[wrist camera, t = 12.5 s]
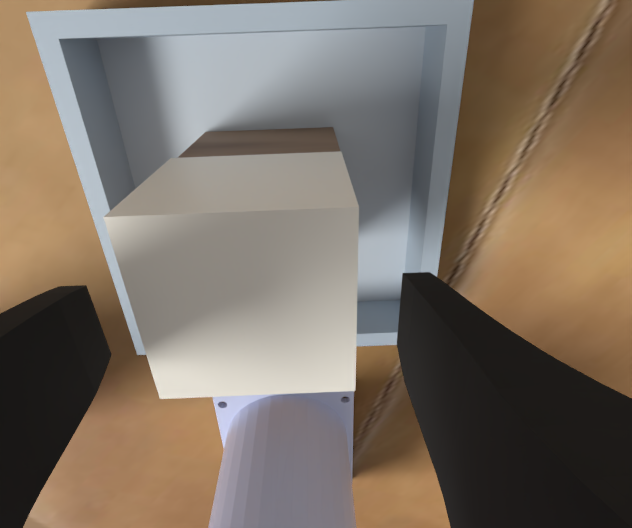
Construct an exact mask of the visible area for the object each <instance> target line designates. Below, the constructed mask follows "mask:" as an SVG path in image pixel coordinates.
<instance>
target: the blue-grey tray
mask: <svg viewBox="0 0 632 528" xmlns="http://www.w3.org/2000/svg"><path fill="white" fill-rule="evenodd" d="M473 3H474V0H338V1H311V2H284V3H256V4H229V5H202V6H175V7H147V8H120V9H93V10H66V11H38V12H26V14H27V17H28V20H29V23H30V26H31V29H32V32H33V35H34V38H35V41H36V45H37V48H38V51H39V54H40V57H41V60H42V63H43V66H44V69H45V72H46V75H47V78H48V81H49V85H50V88H51V91H52V94H53V97H54V100H55V103H56V106H57V109H58V112H59V115H60V118H61V121H62V125H63V128H64V131H65V134H66V137H67V140H68V143H69V146H70V149H71V152H72V155H73V158H74V162H75V165H76V168H77V171H78V174H79V177H80V180H81V183H82V186H83V189H84V192H85V195H86V198H87V202H88V205H89V208H90V211H91V214H92V217H93V220H94V223H95V226H96V229H97V232H98V235H99V239H100V242H101V245H102V248H103V251H104V254H105V257H106V260H107V263H108V266H109V269H110V272H111V275H112V279H113V282H114V285H115V288H116V291H117V294H118V297H119V300H120V303H121V306H122V309H123V312H124V316H125V319H126V322H127V325H128V328H129V331H130V334H131V337H132V340H133V343H134V346H135V349H136V352H137V355H146V352H145V349H144V346H143V343H142V340H141V336H140V333H139V330H138V327H137V324H136V320H135V317H134V314H133V311H132V308H131V304H130V301H129V298H128V295H127V292H126V288H125V285H124V282H123V279H122V276H121V272H120V269H119V266H118V263H117V260H116V256H115V253H114V250H113V247H112V243H111V240H110V237H109V234H108V231H107V227H106V224H105V221H104V218H103V217H104V216H105V215H106V214H107V213H109V212H110V211H111V210H112V209H113V208H114V207H115V206H117V205H118V204H119V203H120V202H121V201H122V200H123V199H125V198H126V197H127V196H128V195H129V194H130V193H131V192H132V191H134V190H135V189H136V188H137V187H138V186H139V185H140V184H142V183H143V182H144V181H145V180H146V179H147V178H148V177H150V176H151V175H152V174H153V173H154V172H155V171H156V170H158V169H159V168H160V167H161V166H162V165H163V164H164V163H166V162H167V161H168V160H169V159H170V158H178V157H179V156H180V155H181V154H182V153H183V152H184V151H185V150H186V149H187V148H189V147H190V146H191V145H192V144H193V143H194V142H195V141H196V140H197V139H198V138H199V137H201V136H202V135H203V134H204V133H205V132H215V131H242V130H268V129H294V128H321V127H333V129H334V132H335V135H336V138H337V141H338V145H339V148H340V151H341V152H342V155H343V158H344V161H345V164H346V168H347V171H348V174H349V177H350V180H351V183H352V186H353V190H354V193H355V196H356V199H357V202H358V205H359V234H358V285H357V336H356V346H378V345H397V335H398V323H399V310H400V298H401V286H402V274H403V273H418V272H430V273H432V274H433V275H435V276H436V277H437V274H438V267H439V259H440V252H441V244H442V237H443V229H444V222H445V214H446V207H447V199H448V191H449V184H450V176H451V169H452V161H453V154H454V146H455V139H456V131H457V124H458V116H459V109H460V101H461V94H462V86H463V78H464V71H465V63H466V56H467V48H468V41H469V33H470V26H471V18H472V11H473Z"/></svg>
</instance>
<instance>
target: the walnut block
mask: <svg viewBox="0 0 632 528" xmlns="http://www.w3.org/2000/svg"><path fill="white" fill-rule="evenodd" d="M337 151H340V148H339V145H338V141H337V138H336V135H335V132H334V129H333V127H321V128H294V129H268V130H242V131H215V132H205V133H204V134H203V135H202V136H201V137H199V138H198V139H197V140H196V141H195V142H194V143H193V144H192V145H191V146H190V147H189V148H187V149H186V150H185V151H184V152H183V153H182V154H181V155H180V156H179V157H178V158H184V157H209V156H235V155H260V154H286V153H312V152H337Z"/></svg>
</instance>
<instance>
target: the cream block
mask: <svg viewBox="0 0 632 528" xmlns="http://www.w3.org/2000/svg"><path fill="white" fill-rule="evenodd" d="M103 218H104V221H105V224H106V227H107V231H108V234H109V237H110V240H111V243H112V247H113V250H114V253H115V256H116V260H117V263H118V266H119V269H120V272H121V276H122V279H123V282H124V285H125V288H126V292H127V295H128V298H129V301H130V304H131V308H132V311H133V314H134V317H135V320H136V324H137V327H138V330H139V333H140V336H141V340H142V343H143V346H144V349H145V352H146V356H147V359H148V362H149V365H150V368H151V372H152V375H153V378H154V381H155V384H156V388H157V391H158V394H159V397H160V399H171V398H196V397H220V396H245V395H269V394H294V393H318V392H343V391H355V387H356V336H357V285H358V234H359V205H358V202H357V199H356V196H355V193H354V190H353V186H352V183H351V180H350V177H349V174H348V171H347V168H346V164H345V161H344V158H343V155H342V152H341V151H337V152H312V153H286V154H260V155H235V156H209V157H184V158H170V159H169V160H168V161H167V162H166V163H164V164H163V165H162V166H161V167H160V168H159V169H158V170H156V171H155V172H154V173H153V174H152V175H151V176H150V177H148V178H147V179H146V180H145V181H144V182H143V183H142V184H140V185H139V186H138V187H137V188H136V189H135V190H134V191H132V192H131V193H130V194H129V195H128V196H127V197H126V198H125V199H123V200H122V201H121V202H120V203H119V204H118V205H117V206H115V207H114V208H113V209H112V210H111V211H110V212H109V213H107V214H106V215H105V216H104V217H103Z"/></svg>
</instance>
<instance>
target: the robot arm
mask: <svg viewBox="0 0 632 528" xmlns="http://www.w3.org/2000/svg"><path fill="white" fill-rule="evenodd" d="M397 347H398V352H399V357H400V362H401V367H402V372H403V376H404V381H405V384H406V387H407V390H408V393H409V396H410V399H411V402H412V405H413V408H414V411H415V414H416V417H417V419H418V422H419V425H420V428H421V431H422V434H423V437H424V440H425V442H426V445H427V448H428V451H429V454H430V457H431V460H432V463H433V465H434V468H435V471H436V474H437V477H438V481H439V484H440V487H441V491H442V494H443V497H444V501H445V505H446V510H447V514H448V518H449V522H450V526H451V528H632V398H629V397H627V396H625V395H623V394H621V393H619V392H617V391H615V390H613V389H611V388H609V387H607V386H605V385H603V384H601V383H599V382H597V381H595V380H594V379H592V378H590V377H588V376H586V375H584V374H583V373H581V372H579V371H577V370H575V369H573V368H572V367H570V366H568V365H566V364H564V363H562V362H561V361H559V360H557V359H555V358H554V357H552V356H550V355H549V354H547V353H545V352H544V351H542V350H540V349H539V348H537V347H536V346H534V345H532V344H531V343H529V342H528V341H526V340H525V339H523V338H521V337H520V336H518V335H517V334H515V333H514V332H512V331H511V330H509V329H508V328H506V327H505V326H503V325H502V324H500V323H499V322H497V321H496V320H494V319H493V318H492V317H490V316H489V315H487V314H486V313H485V312H483V311H482V310H480V309H479V308H478V307H476V306H475V305H474V304H472V303H471V302H470V301H468V300H467V299H466V298H464V297H463V296H462V295H460V294H459V293H458V292H456V291H455V290H454V289H452V288H451V287H450V286H448V285H447V284H446V283H444V282H443V281H442V280H440V279H439V278H437V277H436V276H435V275H433V274H432V273H430V272H418V273H403V274H402V286H401V298H400V310H399V323H398V335H397ZM110 357H111V352H110V350H109V347H108V344H107V341H106V339H105V336H104V333H103V330H102V328H101V325H100V322H99V319H98V317H97V314H96V311H95V308H94V306H93V303H92V300H91V297H90V295H89V292H88V289H87V286H86V285H85V286H60V287H57V288H54V289H52V290H49V291H47V292H44V293H42V294H40V295H38V296H35V297H33V298H31V299H29V300H27V301H25V302H23V303H21V304H19V305H17V306H15V307H13V308H11V309H9V310H7V311H5V312H3V313H1V314H0V528H23V526H24V524H25V521H26V519H27V517H28V515H29V513H30V511H31V509H32V507H33V505H34V503H35V502H36V500H37V498H38V496H39V494H40V492H41V490H42V488H43V487H44V485H45V483H46V481H47V480H48V478H49V476H50V474H51V473H52V471H53V469H54V467H55V466H56V464H57V462H58V460H59V459H60V457H61V455H62V454H63V452H64V450H65V448H66V447H67V445H68V443H69V441H70V440H71V438H72V436H73V434H74V433H75V431H76V429H77V427H78V426H79V424H80V422H81V420H82V419H83V417H84V415H85V413H86V411H87V410H88V408H89V406H90V404H91V402H92V401H93V399H94V397H95V395H96V393H97V391H98V388H99V386H100V383H101V381H102V379H103V376H104V373H105V371H106V368H107V365H108V363H109V360H110ZM342 397H346V398H342ZM213 402H214V407H215V411H216V416H217V420H218V425H219V429H220V434H221V438H222V443H223V447H224V452H223V457H222V462H221V467H220V472H219V477H218V482H217V487H216V492H215V497H214V502H213V507H212V512H211V517H210V522H209V527H208V528H356V520H355V510H354V500H353V491H352V469H353V416H354V391H343V392H318V393H294V394H269V395H245V396H220V397H213ZM223 402H225V403H223Z"/></svg>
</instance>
